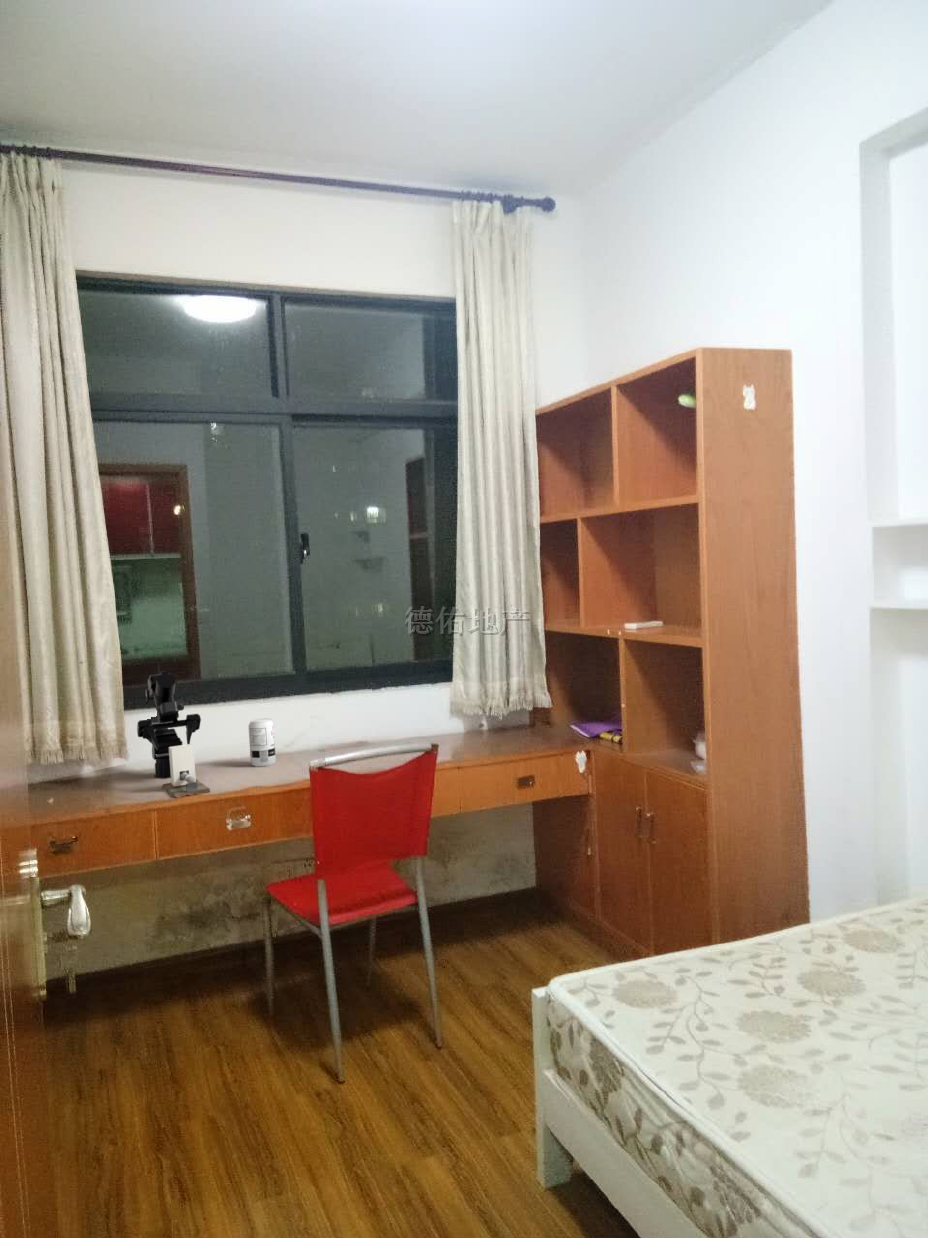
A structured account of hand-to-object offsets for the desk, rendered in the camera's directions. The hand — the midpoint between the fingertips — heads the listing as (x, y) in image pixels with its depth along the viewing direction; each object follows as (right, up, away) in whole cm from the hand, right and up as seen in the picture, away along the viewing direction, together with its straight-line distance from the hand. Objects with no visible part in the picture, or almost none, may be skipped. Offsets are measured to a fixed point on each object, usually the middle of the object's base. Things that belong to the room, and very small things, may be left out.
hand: (173, 747), depth 271 cm
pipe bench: (+6, -12, -7) cm, 15 cm away
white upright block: (+5, -10, -5) cm, 12 cm away
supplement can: (+22, -9, +24) cm, 34 cm away
